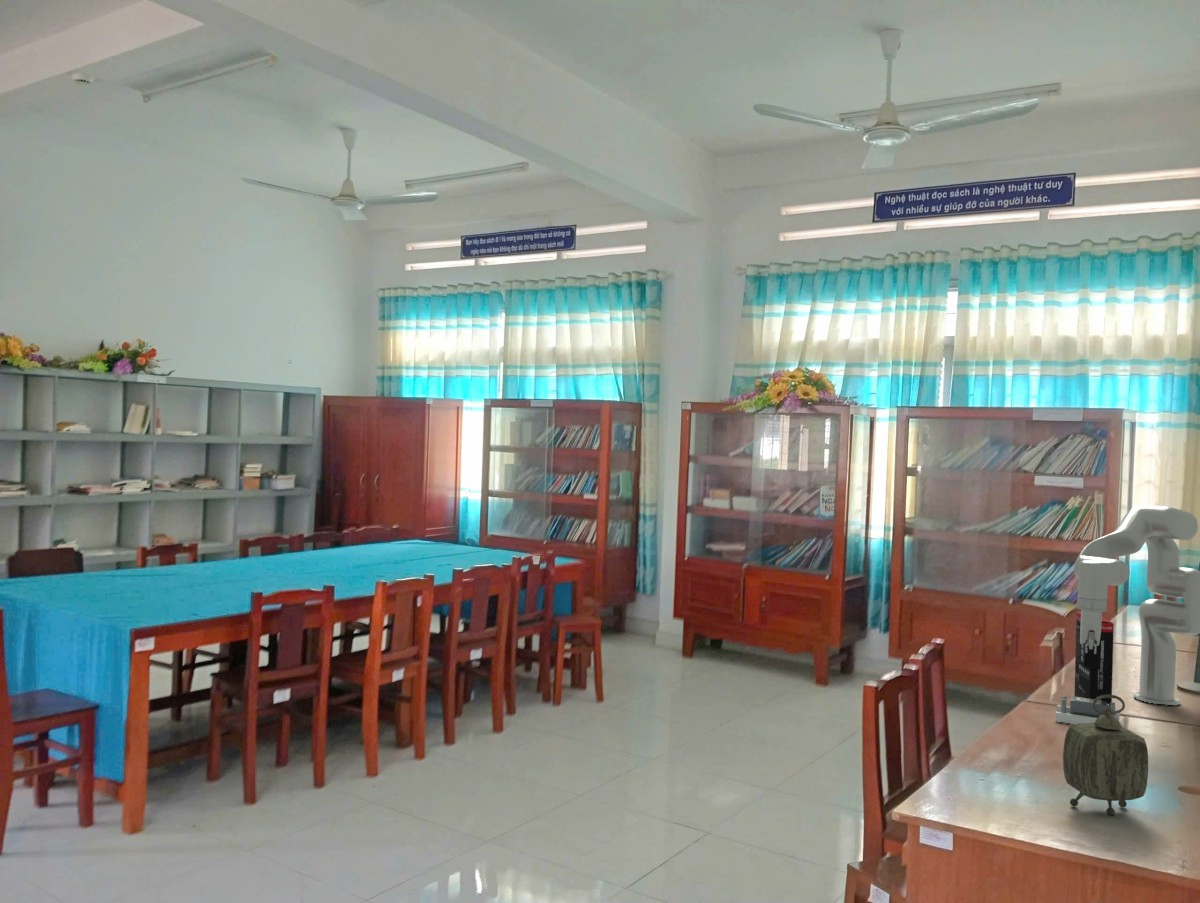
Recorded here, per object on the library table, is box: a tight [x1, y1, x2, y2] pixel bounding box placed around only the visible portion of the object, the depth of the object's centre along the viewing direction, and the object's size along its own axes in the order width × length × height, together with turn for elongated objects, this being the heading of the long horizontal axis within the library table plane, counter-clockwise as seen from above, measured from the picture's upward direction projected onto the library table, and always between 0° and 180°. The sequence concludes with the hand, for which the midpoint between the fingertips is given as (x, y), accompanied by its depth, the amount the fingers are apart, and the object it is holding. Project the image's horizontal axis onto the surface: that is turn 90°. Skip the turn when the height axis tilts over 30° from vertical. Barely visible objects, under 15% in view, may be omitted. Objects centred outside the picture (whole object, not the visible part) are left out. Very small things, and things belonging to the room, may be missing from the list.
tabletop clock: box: [1062, 694, 1149, 817], centre depth 205 cm, size 14×9×25 cm, turn 92°
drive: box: [1069, 696, 1107, 718], centre depth 275 cm, size 6×9×5 cm, turn 61°
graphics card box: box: [1073, 610, 1115, 708], centre depth 294 cm, size 17×7×27 cm, turn 168°
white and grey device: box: [1055, 695, 1121, 725], centre depth 275 cm, size 11×16×6 cm
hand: (1090, 663), depth 275 cm, fingers open, 9 cm apart
